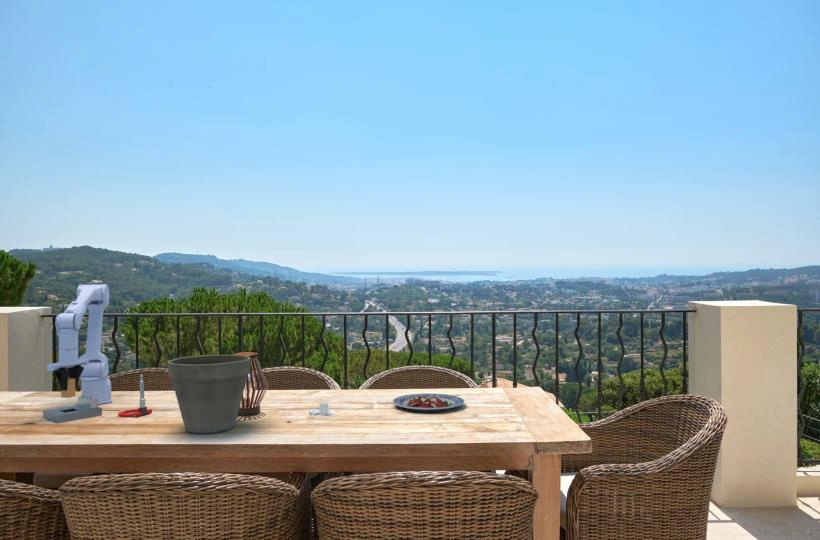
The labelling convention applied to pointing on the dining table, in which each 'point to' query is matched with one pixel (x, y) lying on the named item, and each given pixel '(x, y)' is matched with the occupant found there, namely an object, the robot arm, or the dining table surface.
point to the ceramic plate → (428, 402)
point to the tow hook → (142, 409)
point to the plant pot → (209, 390)
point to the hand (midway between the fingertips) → (68, 389)
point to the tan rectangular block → (69, 389)
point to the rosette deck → (75, 410)
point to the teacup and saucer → (321, 410)
